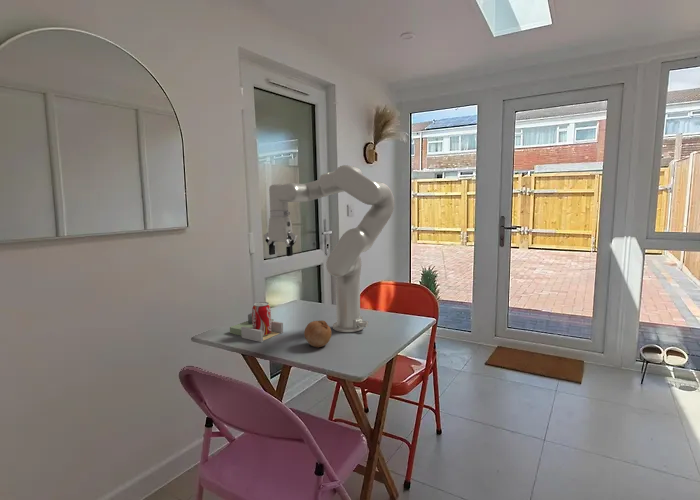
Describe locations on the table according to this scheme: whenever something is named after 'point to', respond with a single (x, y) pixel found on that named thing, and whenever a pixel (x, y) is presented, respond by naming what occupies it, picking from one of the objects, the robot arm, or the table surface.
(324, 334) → the onion
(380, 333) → the table surface
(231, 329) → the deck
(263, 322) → the soda can
